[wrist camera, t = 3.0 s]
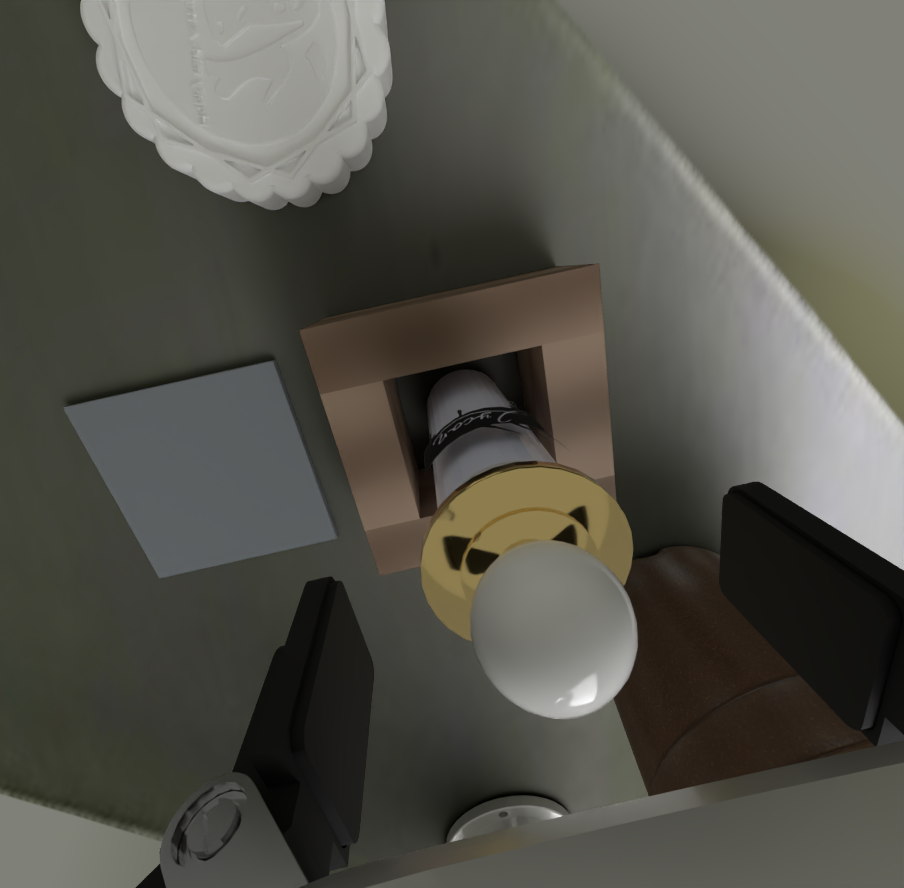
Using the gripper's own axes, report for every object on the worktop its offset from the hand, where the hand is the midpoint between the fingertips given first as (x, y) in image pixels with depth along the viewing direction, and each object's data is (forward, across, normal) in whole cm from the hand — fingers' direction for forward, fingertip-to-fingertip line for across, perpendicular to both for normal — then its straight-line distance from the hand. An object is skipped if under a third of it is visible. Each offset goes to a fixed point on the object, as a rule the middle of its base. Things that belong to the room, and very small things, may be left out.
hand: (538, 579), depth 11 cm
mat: (+17, +16, +2) cm, 24 cm away
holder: (+17, 0, +1) cm, 17 cm away
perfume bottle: (+17, 0, +1) cm, 17 cm away
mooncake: (+18, +6, -17) cm, 26 cm away
